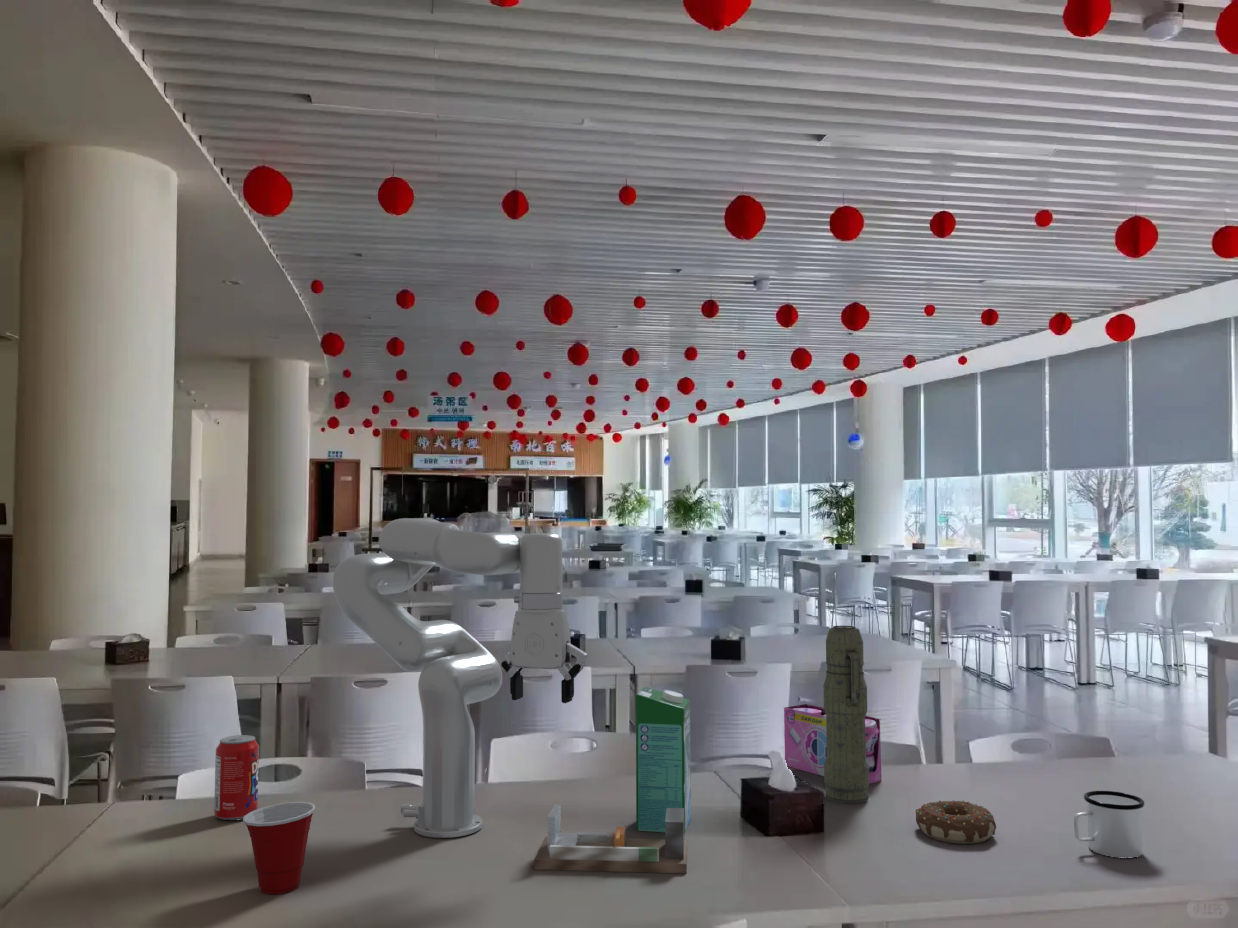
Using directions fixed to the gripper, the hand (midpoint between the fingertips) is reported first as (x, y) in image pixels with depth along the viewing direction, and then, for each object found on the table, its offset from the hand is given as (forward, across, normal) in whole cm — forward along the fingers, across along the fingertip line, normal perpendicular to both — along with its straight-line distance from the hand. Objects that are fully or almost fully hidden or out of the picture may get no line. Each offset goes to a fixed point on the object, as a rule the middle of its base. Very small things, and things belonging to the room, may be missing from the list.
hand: (541, 700), depth 171 cm
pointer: (+23, +15, -2) cm, 28 cm away
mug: (+27, +92, +33) cm, 101 cm away
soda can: (+25, -64, -4) cm, 69 cm away
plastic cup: (+26, -31, -31) cm, 51 cm away
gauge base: (+26, +13, 0) cm, 29 cm away
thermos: (+26, +45, +51) cm, 73 cm away
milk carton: (+26, +16, +20) cm, 36 cm away
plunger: (+24, +8, -2) cm, 25 cm away
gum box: (+26, +39, +69) cm, 84 cm away
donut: (+27, +67, +34) cm, 79 cm away
